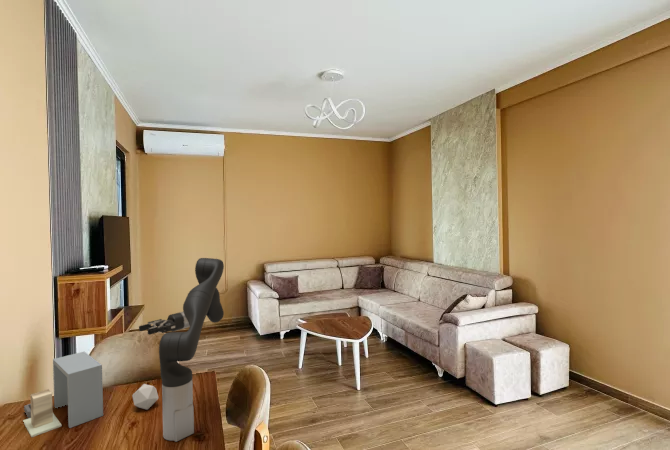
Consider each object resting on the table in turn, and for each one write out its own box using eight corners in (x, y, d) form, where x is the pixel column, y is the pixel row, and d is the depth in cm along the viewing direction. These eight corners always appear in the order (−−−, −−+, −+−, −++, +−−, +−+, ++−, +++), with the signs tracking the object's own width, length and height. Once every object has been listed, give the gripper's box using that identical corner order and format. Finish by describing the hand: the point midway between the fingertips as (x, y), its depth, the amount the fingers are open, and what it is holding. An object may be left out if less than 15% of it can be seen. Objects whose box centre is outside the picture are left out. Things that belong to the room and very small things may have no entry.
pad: (61, 426, 123) (61, 424, 123) (31, 437, 117) (31, 435, 117) (51, 412, 132) (51, 410, 132) (23, 421, 126) (23, 420, 126)
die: (163, 405, 137) (160, 380, 142) (151, 404, 130) (148, 378, 134) (142, 414, 136) (140, 389, 141) (129, 414, 129) (126, 387, 133)
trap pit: (52, 410, 133) (52, 404, 133) (28, 419, 128) (27, 412, 128) (48, 404, 138) (47, 398, 138) (24, 412, 132) (24, 405, 132)
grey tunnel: (103, 415, 129) (101, 364, 129) (69, 428, 122) (68, 374, 122) (85, 397, 143) (84, 351, 143) (54, 407, 135) (52, 359, 135)
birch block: (52, 421, 125) (52, 393, 125) (34, 428, 121) (33, 399, 121) (49, 416, 128) (48, 389, 128) (31, 422, 124) (30, 394, 124)
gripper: (173, 310, 166) (135, 319, 154) (188, 314, 157) (150, 324, 145) (174, 326, 167) (137, 336, 154) (189, 331, 158) (151, 342, 145)
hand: (143, 330), depth 150 cm, fingers open, 8 cm apart
